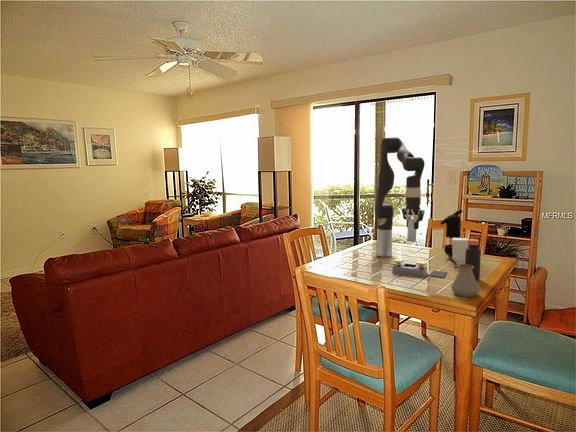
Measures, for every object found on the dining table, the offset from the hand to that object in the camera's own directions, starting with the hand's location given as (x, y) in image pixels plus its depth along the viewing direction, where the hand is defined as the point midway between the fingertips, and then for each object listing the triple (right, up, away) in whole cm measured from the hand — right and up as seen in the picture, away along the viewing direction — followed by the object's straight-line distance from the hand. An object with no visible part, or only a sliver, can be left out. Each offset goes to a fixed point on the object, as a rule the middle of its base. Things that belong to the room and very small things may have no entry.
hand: (412, 228), depth 197 cm
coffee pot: (+13, -28, -25) cm, 40 cm away
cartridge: (0, -7, +1) cm, 7 cm away
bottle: (+27, -25, -10) cm, 38 cm away
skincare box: (+32, -22, +15) cm, 41 cm away
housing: (0, -24, +4) cm, 24 cm away
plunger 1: (-6, -22, +7) cm, 24 cm away
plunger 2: (+5, -23, +1) cm, 23 cm away
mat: (+13, -24, -1) cm, 28 cm away
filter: (+33, -20, +31) cm, 50 cm away
